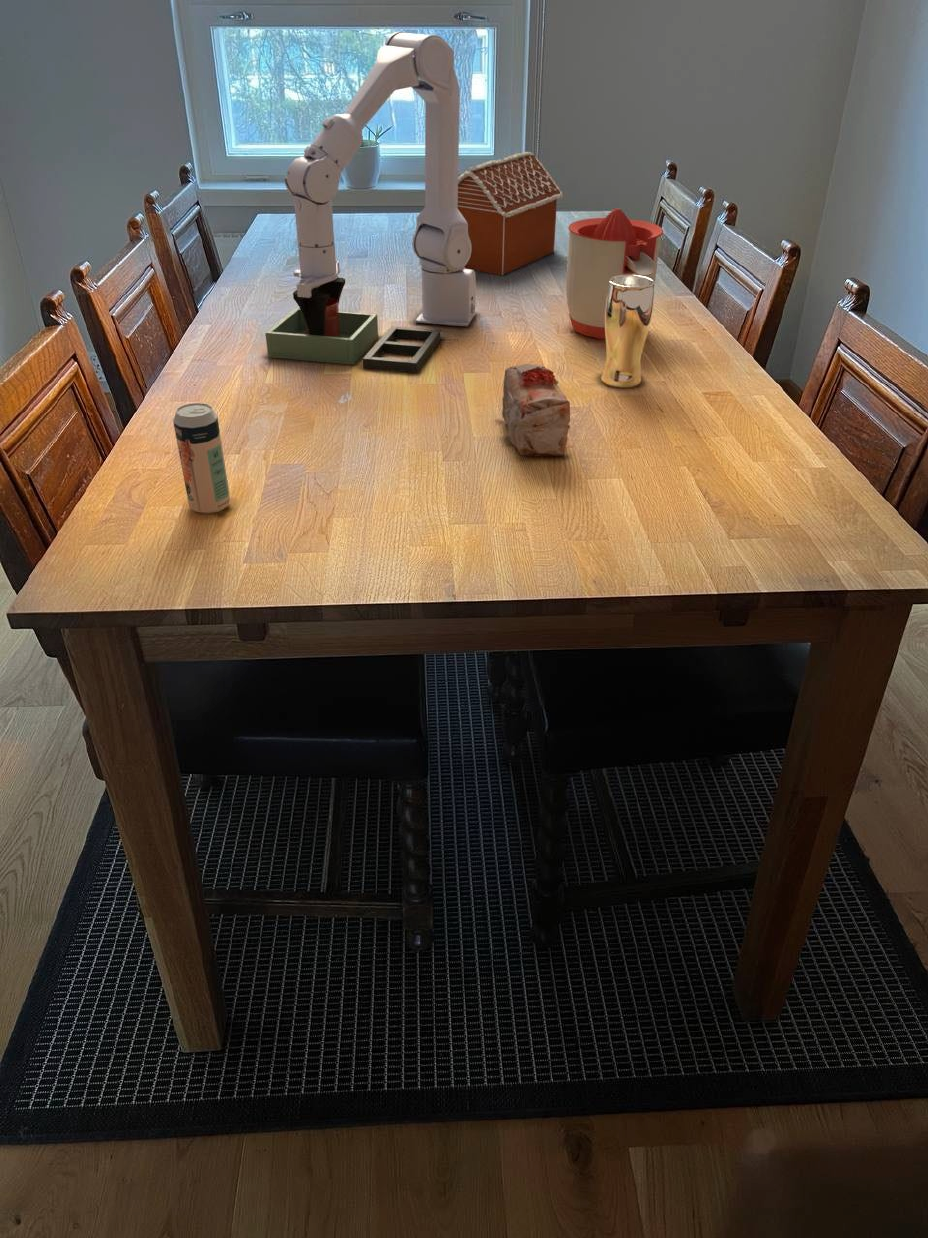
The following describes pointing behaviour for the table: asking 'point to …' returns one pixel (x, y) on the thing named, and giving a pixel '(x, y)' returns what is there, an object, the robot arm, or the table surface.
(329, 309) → the cup
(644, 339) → the beer glass
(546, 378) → the food item
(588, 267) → the citrus juicer
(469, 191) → the gingerbread house
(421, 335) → the frame
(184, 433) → the beer can
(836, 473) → the table surface
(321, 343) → the basin
